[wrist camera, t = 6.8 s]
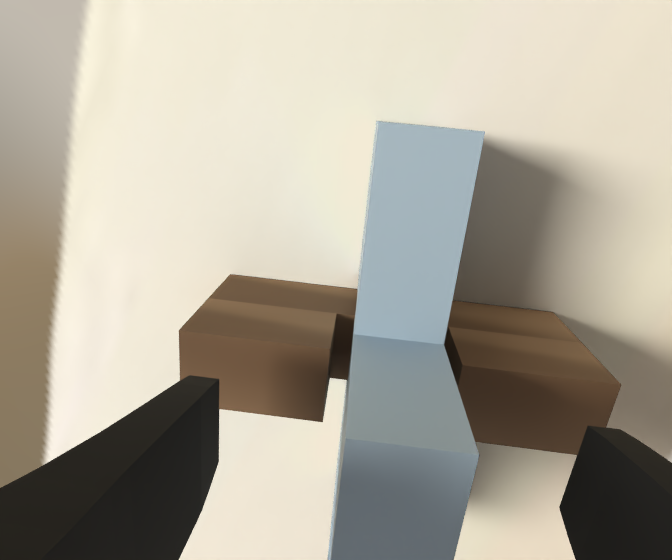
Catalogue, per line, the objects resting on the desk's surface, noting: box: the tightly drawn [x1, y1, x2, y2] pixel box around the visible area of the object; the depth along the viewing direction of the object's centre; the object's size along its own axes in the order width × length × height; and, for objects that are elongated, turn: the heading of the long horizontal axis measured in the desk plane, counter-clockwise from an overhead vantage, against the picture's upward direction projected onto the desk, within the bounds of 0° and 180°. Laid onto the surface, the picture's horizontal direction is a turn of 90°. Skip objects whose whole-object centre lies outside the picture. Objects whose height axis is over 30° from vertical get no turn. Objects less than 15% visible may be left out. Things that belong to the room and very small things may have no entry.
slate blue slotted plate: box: [328, 121, 485, 560], centre depth 11 cm, size 12×2×8 cm, turn 175°
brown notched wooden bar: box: [179, 274, 621, 455], centre depth 12 cm, size 2×10×4 cm, turn 85°
